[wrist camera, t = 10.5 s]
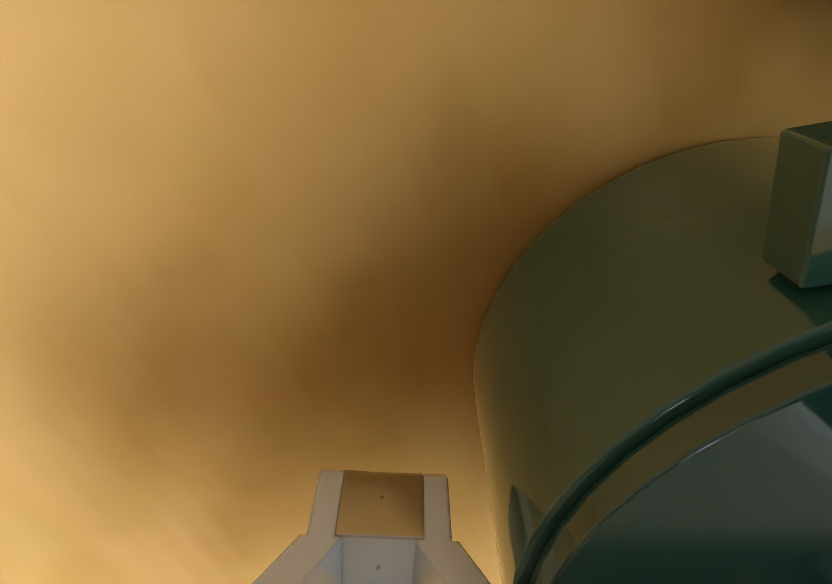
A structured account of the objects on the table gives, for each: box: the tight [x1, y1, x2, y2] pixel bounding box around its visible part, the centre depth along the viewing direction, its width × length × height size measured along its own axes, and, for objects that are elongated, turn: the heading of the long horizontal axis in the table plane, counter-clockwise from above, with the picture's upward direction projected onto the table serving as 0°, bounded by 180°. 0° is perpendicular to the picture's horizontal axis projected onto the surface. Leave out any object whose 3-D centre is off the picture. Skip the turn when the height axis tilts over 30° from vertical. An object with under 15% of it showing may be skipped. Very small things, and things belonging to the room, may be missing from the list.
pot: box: [473, 121, 832, 584], centre depth 11 cm, size 15×12×8 cm
